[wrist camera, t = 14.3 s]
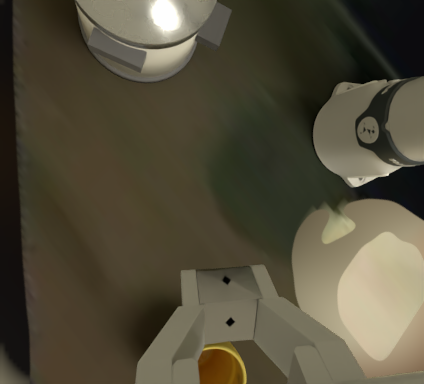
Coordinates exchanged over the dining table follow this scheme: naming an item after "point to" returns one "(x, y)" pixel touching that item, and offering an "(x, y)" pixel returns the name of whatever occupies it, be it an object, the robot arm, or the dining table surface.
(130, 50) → the cooker
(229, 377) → the plant pot
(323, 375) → the robot arm
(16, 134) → the dining table surface
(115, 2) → the lid
